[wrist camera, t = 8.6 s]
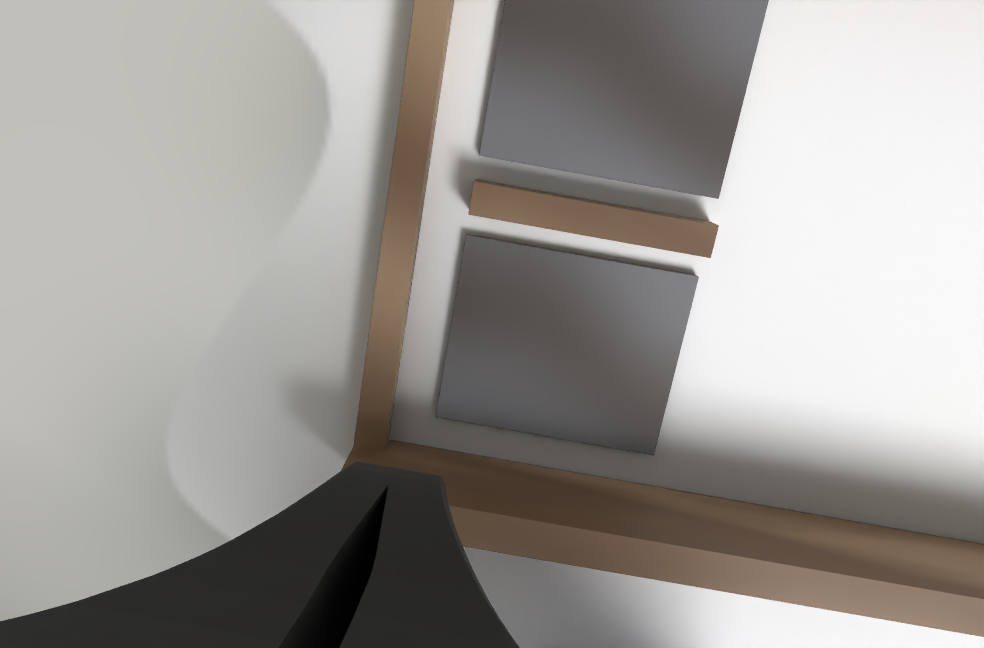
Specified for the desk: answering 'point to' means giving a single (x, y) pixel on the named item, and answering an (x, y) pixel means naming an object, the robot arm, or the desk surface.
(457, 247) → the desk surface
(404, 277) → the trap box
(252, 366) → the desk surface
